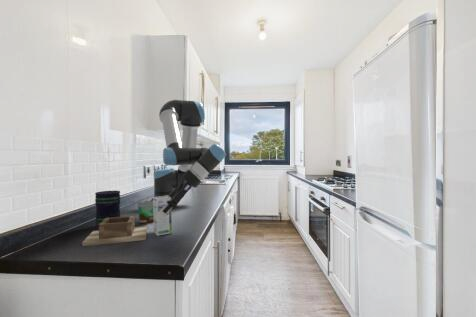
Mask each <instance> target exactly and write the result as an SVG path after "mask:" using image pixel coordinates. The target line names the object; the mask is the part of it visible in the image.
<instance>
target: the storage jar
mask: <svg viewBox="0 0 476 317" xmlns="http://www.w3.org/2000/svg"><path fill="white" fill-rule="evenodd" d="M94 194H95V198H94V203H95V209H96V211H95V212H96V213H95V228H96V229H98V230H99V224H100V223H101V222H102V221H103V220H104V219H105V218H112V217H122V216H121V210H120V207H121V206H120V204H121V191H120V190H103V191H102V190H101V191H96V192H95V193H94Z"/></svg>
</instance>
